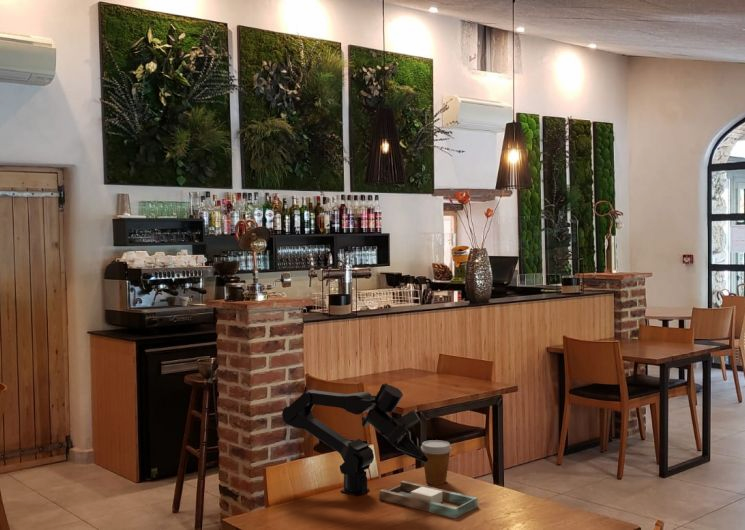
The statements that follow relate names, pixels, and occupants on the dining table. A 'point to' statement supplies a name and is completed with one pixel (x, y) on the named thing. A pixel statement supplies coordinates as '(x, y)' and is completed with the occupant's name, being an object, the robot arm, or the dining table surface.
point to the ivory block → (427, 494)
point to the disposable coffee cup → (436, 460)
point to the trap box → (404, 497)
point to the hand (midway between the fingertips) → (424, 458)
